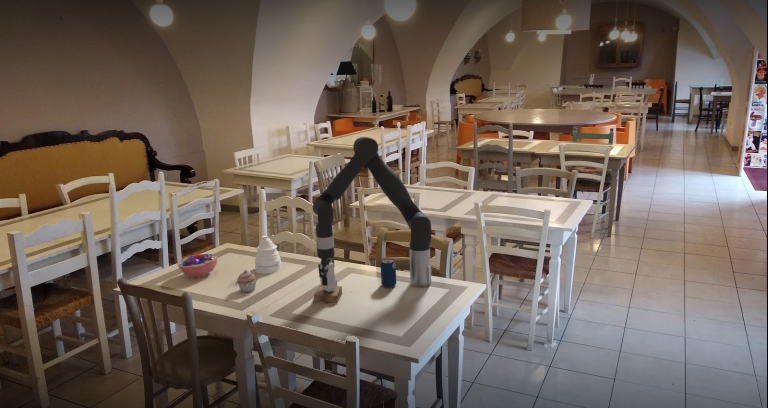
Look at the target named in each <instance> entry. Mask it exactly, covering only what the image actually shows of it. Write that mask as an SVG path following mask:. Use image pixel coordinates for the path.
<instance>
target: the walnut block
mask: <svg viewBox="0 0 768 408" xmlns="http://www.w3.org/2000/svg"><path fill="white" fill-rule="evenodd" d="M342 295H343V286H342V285H341V286H339V285H337V286H336V290H333V291H330V292H328V291H326V290H324V289H322V288H321V285H319V286H318V288H317V289H316V291H315V293H314V294H313V299H314V301H313V302H314V304H338V303H339V301H340V299H341V298H342Z"/></svg>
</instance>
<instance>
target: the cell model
mask: <svg viewBox="0 0 768 408" xmlns="http://www.w3.org/2000/svg"><path fill="white" fill-rule="evenodd" d="M217 264H218V256H217V255H216V254H213V253H203V254H201V253H200V254H194V255H188V256H186V257H184V258H183V259H181V260H180V261H178V262H177V264H176V265H177V267H178V269H179V270H180V271H181V272H182V273H183V274H184V275H185V276H187V277H188V278H192V279H197V278H202V277H205V276H207V275H209V274H210V273H212V272H213V270H214V269H215V268H216V265H217Z"/></svg>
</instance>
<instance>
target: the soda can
mask: <svg viewBox="0 0 768 408" xmlns="http://www.w3.org/2000/svg"><path fill="white" fill-rule="evenodd" d="M396 265H397V264H396V262H395V259H394V258H384V259H382V260H381V262H380V284H381V285H382V287H383V288H388V289H391V288H394V287H395V286H396V284H397V266H396Z"/></svg>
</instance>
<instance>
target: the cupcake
mask: <svg viewBox="0 0 768 408" xmlns="http://www.w3.org/2000/svg"><path fill="white" fill-rule="evenodd" d="M257 281H258V278H256V277H255V274H254V273H252V272H251V271H250V270H246V269H245V270H243V272H241V273H240V274H239V276H238V277H237V281H236V284H237V285H238V287H239V290H240V291H241V292H242V293H243V294H244V293H245V294H246V293H252V292H254V291H255V289H256V284H257Z"/></svg>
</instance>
